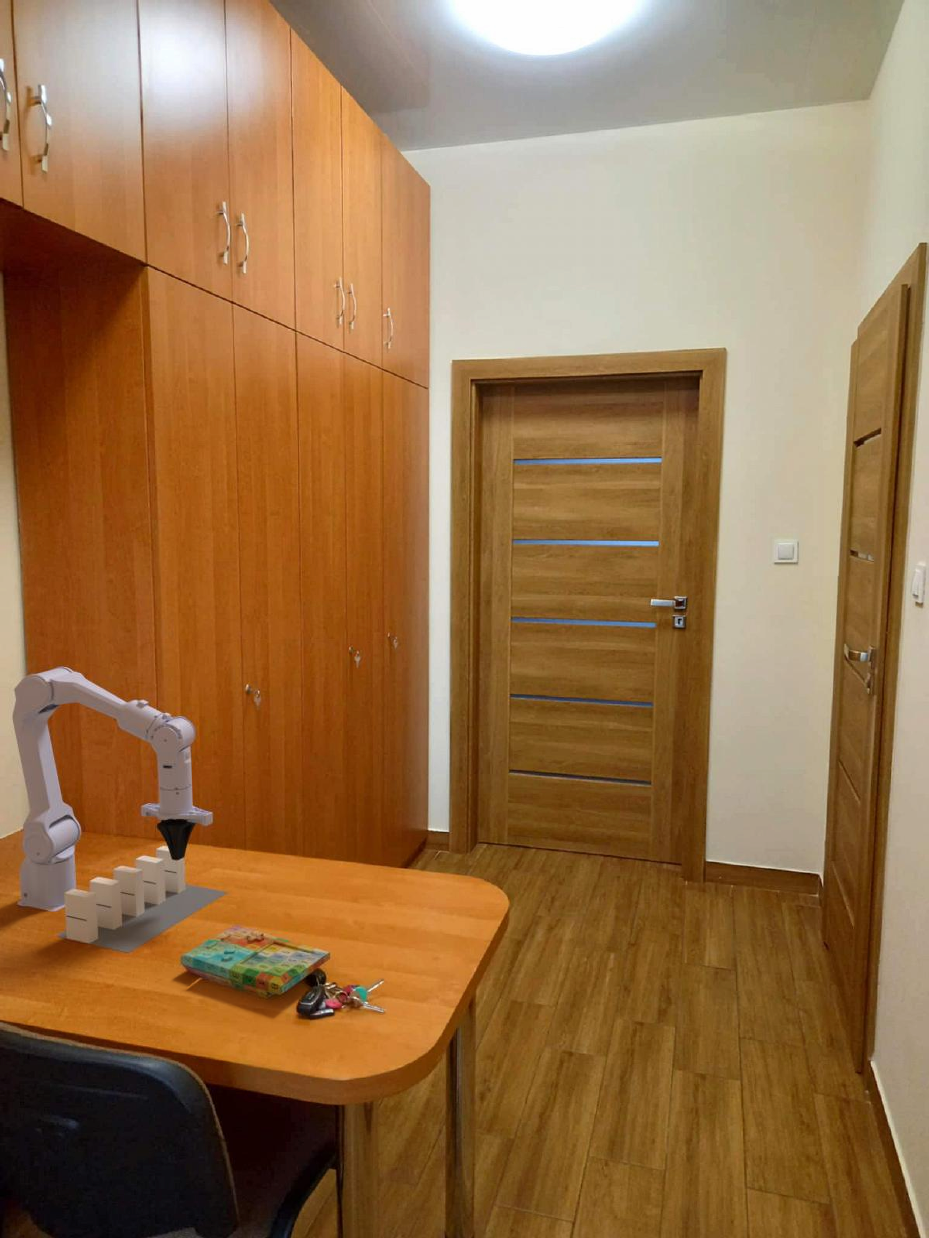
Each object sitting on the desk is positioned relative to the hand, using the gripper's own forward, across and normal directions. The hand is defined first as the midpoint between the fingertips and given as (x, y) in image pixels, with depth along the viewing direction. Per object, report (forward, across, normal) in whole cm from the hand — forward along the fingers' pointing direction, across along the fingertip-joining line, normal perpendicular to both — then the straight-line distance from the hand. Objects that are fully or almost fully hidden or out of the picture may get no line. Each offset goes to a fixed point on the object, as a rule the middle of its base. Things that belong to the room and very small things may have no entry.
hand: (178, 858), depth 161 cm
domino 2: (+9, -7, -11) cm, 16 cm away
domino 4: (+9, -7, 0) cm, 12 cm away
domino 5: (+9, -7, +6) cm, 13 cm away
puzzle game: (+10, +27, -15) cm, 32 cm away
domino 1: (+9, -7, -16) cm, 20 cm away
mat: (+10, -4, -4) cm, 11 cm away
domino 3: (+9, -7, -5) cm, 13 cm away
